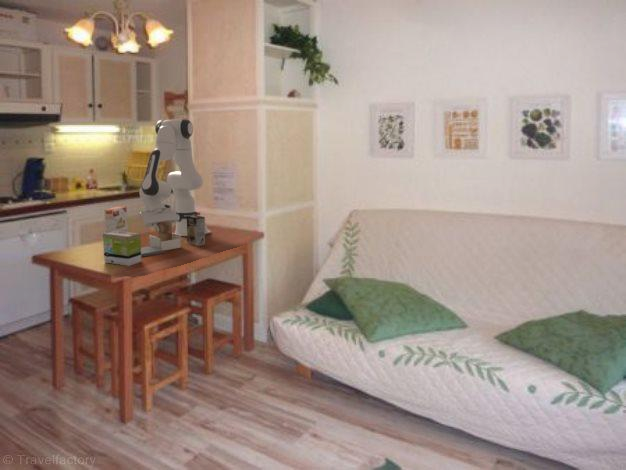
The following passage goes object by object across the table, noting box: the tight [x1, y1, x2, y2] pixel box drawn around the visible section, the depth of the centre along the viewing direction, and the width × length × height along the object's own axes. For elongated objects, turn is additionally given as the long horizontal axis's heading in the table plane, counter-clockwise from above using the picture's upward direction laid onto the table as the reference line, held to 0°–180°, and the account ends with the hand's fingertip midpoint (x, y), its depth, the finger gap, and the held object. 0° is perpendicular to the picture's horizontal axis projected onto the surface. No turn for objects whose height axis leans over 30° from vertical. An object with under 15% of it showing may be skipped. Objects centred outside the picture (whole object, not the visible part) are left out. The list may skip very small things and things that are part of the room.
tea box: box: [102, 231, 142, 267], centre depth 271 cm, size 15×10×15 cm
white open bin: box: [148, 232, 182, 252], centre depth 306 cm, size 13×11×7 cm
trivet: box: [141, 245, 164, 258], centre depth 293 cm, size 14×14×2 cm
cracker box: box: [103, 206, 128, 234], centre depth 311 cm, size 14×6×21 cm, turn 168°
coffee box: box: [186, 215, 206, 247], centre depth 315 cm, size 9×6×16 cm
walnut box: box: [157, 221, 173, 241], centre depth 305 cm, size 6×4×14 cm, turn 135°
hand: (165, 229), depth 304 cm, fingers closed on walnut box, 6 cm apart
